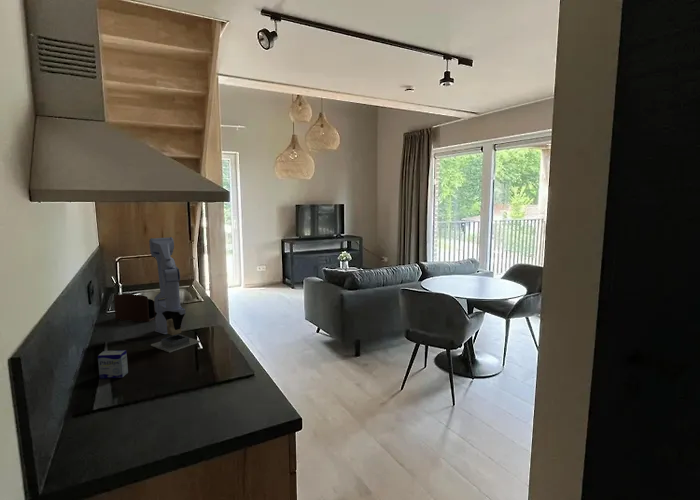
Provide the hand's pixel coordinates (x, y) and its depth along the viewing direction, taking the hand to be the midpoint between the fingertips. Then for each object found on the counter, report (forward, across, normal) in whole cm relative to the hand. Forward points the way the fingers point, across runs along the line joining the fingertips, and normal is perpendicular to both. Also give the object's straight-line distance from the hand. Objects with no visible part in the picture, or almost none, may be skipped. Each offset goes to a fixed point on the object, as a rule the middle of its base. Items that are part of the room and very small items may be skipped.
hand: (174, 328), depth 169 cm
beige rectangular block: (+2, 0, 0) cm, 2 cm away
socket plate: (+7, 0, 0) cm, 7 cm away
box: (+7, +11, -30) cm, 33 cm away
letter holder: (+7, -53, +11) cm, 54 cm away
